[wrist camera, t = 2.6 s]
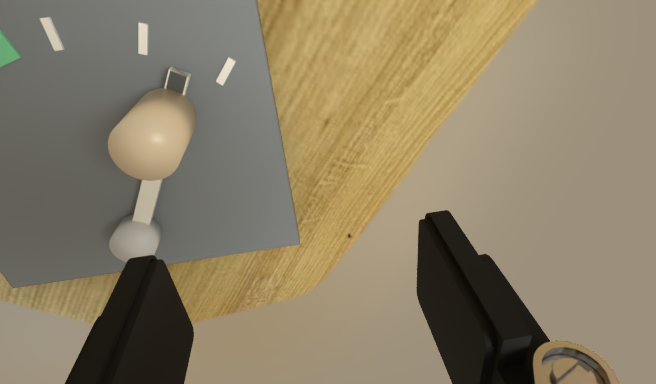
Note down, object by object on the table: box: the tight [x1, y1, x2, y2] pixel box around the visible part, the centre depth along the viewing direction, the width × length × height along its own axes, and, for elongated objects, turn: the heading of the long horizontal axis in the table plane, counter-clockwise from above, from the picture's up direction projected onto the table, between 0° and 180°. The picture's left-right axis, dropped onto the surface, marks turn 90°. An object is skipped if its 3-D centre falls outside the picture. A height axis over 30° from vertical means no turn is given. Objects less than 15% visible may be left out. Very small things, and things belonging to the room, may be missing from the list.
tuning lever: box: [108, 67, 197, 262], centre depth 25 cm, size 15×4×6 cm, turn 156°
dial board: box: [0, 0, 300, 288], centre depth 27 cm, size 24×22×2 cm
